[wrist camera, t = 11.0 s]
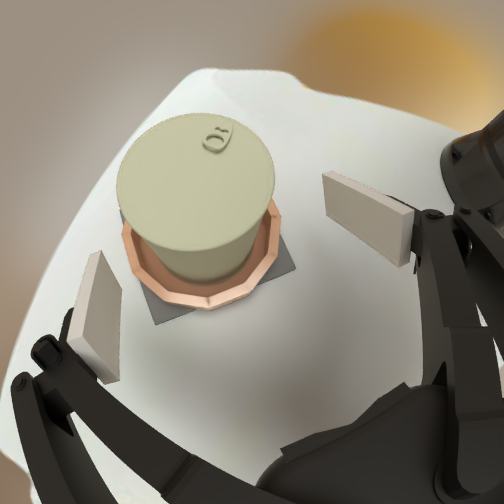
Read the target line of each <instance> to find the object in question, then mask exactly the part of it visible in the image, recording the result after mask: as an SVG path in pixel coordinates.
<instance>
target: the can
mask: <svg viewBox="0 0 504 504" xmlns="http://www.w3.org/2000/svg"><path fill="white" fill-rule="evenodd" d="M274 185H275V172H274V166H273V162H272V158H271V156H270V153H269V151H268V149H267V148H266V146H265V145H264V143H263V142H262V141H261V139H260V138H259V137H258V136H257V135H256V134H255V133H254V132H253V131H251V130H250V129H249V128H248V127H246V126H245V125H243V124H241V123H239V122H237V121H235V120H233V119H231V118H228V117H224V116H221V115H216V114H209V113H192V114H184V115H180V116H176V117H173V118H170V119H167V120H165V121H162V122H160V123H158V124H157V125H155V126H153V127H151V128H150V129H149V130H147V131H146V132H145V133H143V134H142V135H141V136H140V137H139V138H138V139H137V140H136V141H135V142H134V143H133V145H132V146H131V147H130V148H129V150H128V151H127V153H126V155H125V157H124V158H123V160H122V163H121V165H120V168H119V172H118V176H117V185H116V189H117V199H118V203H119V207H120V210H121V212H122V214H123V216H124V218H125V219H126V221H127V223H128V224H129V225H130V226H131V228H132V229H133V230H134V231H135V232H136V233H137V234H139V235H140V236H141V237H142V238H143V239H144V240H145V242H146V243H147V244H148V245H149V246H150V248H151V249H152V250H153V251H154V252H155V254H156V255H157V256H158V257H159V259H160V262H161V263H162V265H163V266H164V268H165V269H166V270H167V271H168V272H169V273H170V274H171V275H172V276H174V277H175V278H177V279H178V280H180V281H182V282H184V283H187V284H190V285H195V286H212V285H217V284H220V283H223V282H226V281H227V280H229V279H231V278H232V277H234V276H235V275H237V274H238V273H239V272H240V271H241V270H242V269H243V268H244V266H245V265H246V264H247V262H248V260H249V259H250V256H251V254H252V251H253V248H254V241H255V237H256V234H257V231H258V228H259V225H260V223H261V220H262V218H263V215H264V213H265V211H266V210H267V208H268V206H269V204H270V201H271V198H272V195H273V191H274Z"/></svg>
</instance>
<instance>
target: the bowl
mask: <svg viewBox="0 0 504 504" xmlns="http://www.w3.org/2000/svg"><path fill="white" fill-rule="evenodd" d="M280 223H281V215H280V213H279V211H278V209H277V207H276V205H275V203H274V201H273V199H272V198H271V201H270V204H269V206H268V208H267V210H266V211H265V213H264V215H263V218H262V220H261V223H260V225H259V228H258V231H257V234H256V237H255V241H254V248H253V251H252V254H251V256H250V259H249V260H248V262H247V264H246V265H245V266H244V268H243V269H242V270H241V271H240V272H239V273H238V274H237V275H235V276H234V277H232V278H231V279H229V280H227V281H226V282H223V283H220V284H217V285H212V286H195V285H190V284H187V283H184V282H182V281H180V280H178V279H177V278H175V277H174V276H172V275H171V274H170V273H169V272H168V271H167V270H166V269H165V268H164V266H163V265H162V263H161V262H160V259H159V257H158V256H157V255H156V254H155V252H154V251H153V250H152V249H151V248H150V246H149V245H148V244H147V243H146V242H145V240H144V239H143V238H142V237H141V236H140V235H139V234H137V233H136V232H135V231H134V230H133V229H132V228H131V226H130V225H129V224H128V223H127V221H126V219H125V223H124V227H123V231H122V234H121V235H122V238H123V242H124V246H125V249H126V253H127V256H128V260H129V263H130V266H131V269H132V273H133V274H134V275H135V276H136V277H137V278H139V279H140V280H141V281H142V282H143V283H144V284H145V285H146V286H148V287H149V288H150V289H151V290H152V291H153V292H154V293H156V294H157V295H158V296H159V297H160V298H161V299H163V300H164V301H165V302H167V303H169V304H171V305H177V306H183V307H188V308H195V309H203V310H209V311H211V310H214V309H216V308H219V307H221V306H224V305H227V304H230V303H232V302H234V301H236V300H238V299H241V298H243V297H246V296H248V295H249V294H250V292H251V291H252V290H253V289H254V287H255V286H256V285H257V283H258V282H259V281H260V279H261V278H262V277H263V275H264V274H265V273H266V271H267V270H268V269H269V267H270V266H271V265H272V264H273V262H274V261H275V259H276V258H277V255H278V245H279V234H280Z"/></svg>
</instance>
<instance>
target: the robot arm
mask: <svg viewBox="0 0 504 504" xmlns="http://www.w3.org/2000/svg"><path fill="white" fill-rule="evenodd" d="M441 169H442V174H443V178H444V181H445V184H446V187H447V189H448V191H449V193H450V195H451V197H452V199H453V201H454V203H455V204H456V206H454V212H453V215H449V216H445V215H444V213H442V212H440V211H438V210H433V209H426V210H423V211H422V212H421V211H420V210H418V209H416V208H414V207H412V206H410V205H408V204H405V203H404V202H402V201H399V200H398V199H396V198H394V197H392V196H388V195H384V194H382V193H380V192H378V191H376V190H374V189H372V188H369V187H367V186H365V185H363V184H361V183H359V182H356V181H354V180H352V179H350V178H348V177H345V176H343V175H341V174H338V173H336V172H334V171H331V172H327V173H324V174H322V178H323V187H324V196H325V206H326V215H327V216H328V217H330V218H331V219H332V220H334V221H335V222H337V223H338V224H340V225H341V226H343V227H344V228H345V229H347V230H348V231H350V232H351V233H352V234H354V235H355V236H357V237H358V238H359V239H361V240H362V241H363V242H365V243H366V244H368V245H369V246H370V247H372V248H373V249H374V250H376V251H377V252H378V253H380V254H381V255H382V256H384V257H385V258H386V259H388V260H389V261H390V262H392V263H393V264H394V265H396V266H397V267H398V268H399V267H401V266H403V265H405V264H407V263H408V262H410V254H411V251H412V252H413V253H415V254H416V260H415V266H414V273H413V274H416V271H417V278H418V287H419V296H420V307H421V320H422V340H423V378H422V383H421V385H420V386H415V387H411V388H409V387H408V386H407V385H406V384H405V382H403V383H402V384H400V385H399V386H397V387H396V388H394V389H393V390H391V391H390V392H388V393H386V394H385V395H383V396H382V397H380V398H379V399H377V400H376V401H375V402H374V403H373V404H372V405H371V406H370V407H369V408H368V409H367V410H366V411H365V412H364V413H363V414H362V415H361V416H360V417H359V418H358V419H357V420H356V421H355V422H353V423H352V424H350V425H347V426H343V427H339V428H335V429H332V430H328V431H323V432H319V433H315V434H312V435H310V436H308V437H306V438H304V439H301V440H299V441H297V442H295V443H292V444H290V445H287V446H285V447H283V448H280V449H281V452H282V454H283V455H282V456H281V457H280V458H278V459H277V460H276V461H274V462H273V463H272V464H271V465H270V466H269V467H268V468H267V469H266V470H265V471H264V473H263V474H262V475H261V477H260V478H259V480H258V482H257V484H256V486H253V485H251V484H248V483H246V482H244V481H242V480H240V479H238V478H236V477H234V476H232V475H230V474H228V473H226V472H225V471H223V470H221V469H219V468H217V467H215V466H214V465H212V464H210V463H208V462H207V461H205V460H203V459H201V458H200V457H198V456H196V455H194V454H191V453H189V452H188V451H186V450H185V449H183V448H182V447H180V446H178V445H177V444H175V443H174V442H172V441H171V440H169V439H168V438H167V437H165V436H164V435H162V434H161V433H159V432H158V431H157V430H155V429H154V428H152V427H151V426H150V425H148V424H147V423H146V422H144V421H143V420H142V419H140V418H139V417H138V416H137V415H135V414H134V413H133V412H132V411H130V410H129V409H128V408H127V407H125V406H124V405H123V404H122V403H121V402H119V401H118V400H117V399H116V398H115V397H113V396H112V395H111V394H110V393H109V392H108V391H107V390H105V389H104V388H103V387H102V386H101V385H100V384H99V383H98V382H97V377H98V378H99V379H100V380H101V381H102V382H103V384H104V385H106V384H109V383H113V382H117V381H120V371H119V345H120V314H121V297H122V288H121V287H120V285H119V283H118V281H117V279H116V278H115V276H114V274H113V272H112V270H111V268H110V266H109V264H108V262H107V260H106V259H105V257H104V255H103V253H102V251H101V250H100V251H98V252H95V253H93V254H90V255H89V258H88V261H87V264H86V267H85V271H84V274H83V277H82V281H81V284H80V288H79V291H78V295H77V298H76V302H75V306H74V307H73V308H71V309H69V311H68V312H67V314H66V315H65V317H64V320H63V324H62V325H63V326H62V328H61V333H60V337H59V341H57V339H56V338H55V337H54V336H53V335H51V334H49V335H45V336H43V337H41V338H40V339H39V340H37V342H36V343H35V344H34V346H33V348H32V350H31V358H32V359H33V360H34V361H35V363H36V364H37V365H38V366H39V367H40V368H41V369H42V370H43V371H44V372H42V373H40V374H39V375H37V376H36V377H34V378H33V377H32V376H31V375H30V374H29V373H28V372H22V373H20V374H18V375H17V376H16V377H15V378H14V380H13V382H12V385H11V397H12V403H13V409H14V414H15V419H16V424H17V428H18V432H19V437H20V441H21V444H22V448H23V452H24V455H25V458H26V462H27V465H28V468H29V471H30V474H31V477H32V480H33V482H34V485H35V488H36V490H37V493H38V496H39V498H40V500H41V503H42V504H118V503H117V501H116V500H115V498H114V497H113V495H112V493H111V492H110V490H109V489H108V487H107V486H106V484H105V482H104V481H103V479H102V477H101V476H100V474H99V472H98V470H97V469H96V467H95V465H94V463H93V461H92V460H91V458H90V456H89V454H88V452H87V450H86V448H85V446H84V444H83V442H82V440H81V438H80V436H79V434H78V431H77V429H76V427H75V425H74V423H73V420H72V418H71V416H70V413H72V412H74V411H75V412H76V414H77V415H78V416H79V417H80V418H81V419H82V421H83V422H84V423H85V424H86V425H87V426H88V427H89V428H90V429H91V431H92V432H93V433H94V434H95V435H96V436H97V437H98V438H99V439H100V440H101V441H102V442H103V443H104V444H105V445H106V446H107V447H108V448H109V449H110V450H111V451H112V452H113V453H114V454H115V455H116V456H117V457H118V458H119V459H120V460H122V461H123V462H124V463H125V464H126V465H127V466H128V467H129V468H130V469H132V470H133V471H134V472H135V473H136V474H137V475H139V476H140V477H141V478H142V479H143V480H145V481H146V482H147V483H148V484H150V485H151V486H152V487H153V488H155V489H156V490H157V491H158V492H159V493H160V494H161V497H162V498H163V499H164V500H165V501H166V502H168V503H169V504H504V398H502V391H501V383H500V375H499V368H498V362H497V356H496V351H495V345H494V341H493V338H494V340H495V342H496V345H497V347H498V349H499V352H500V354H501V356H502V359H503V361H504V239H503V238H502V237H501V236H500V235H499V234H498V232H497V231H496V230H497V229H499V228H501V227H502V226H504V110H503V111H502V112H500V113H499V114H498V115H497V116H496V117H495V118H494V119H493V120H492V121H491V122H490V123H489V124H488V125H487V126H485V127H484V128H483V129H482V130H479V131H477V132H474V133H471V134H468V135H465V136H462V137H459V138H457V139H455V140H453V141H452V142H451V143H450V144H449V145H448V146H446V147H445V148H444V150H443V152H442V155H441ZM471 243H472V249H471ZM475 302H476V303H475ZM476 304H477V306H478V308H479V310H480V312H481V314H482V315H483V317H484V319H485V321H486V323H487V325H488V326H481V323H480V319H479V315H478V311H477V307H476Z"/></svg>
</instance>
